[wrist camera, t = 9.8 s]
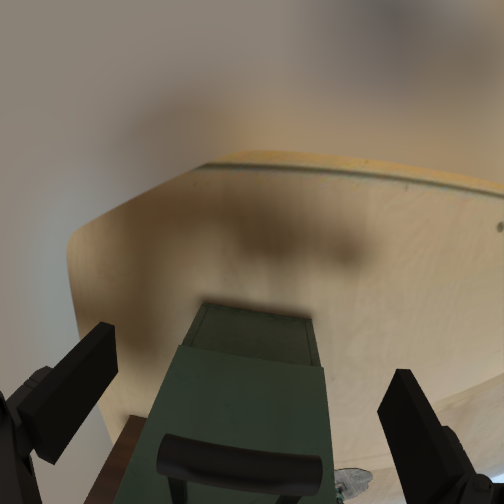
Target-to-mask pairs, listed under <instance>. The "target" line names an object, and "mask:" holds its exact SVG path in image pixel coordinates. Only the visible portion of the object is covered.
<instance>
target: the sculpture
mask: <svg viewBox="0 0 504 504" xmlns="http://www.w3.org/2000/svg"><path fill="white" fill-rule="evenodd" d="M334 475H335V489H336V504H344V503H343V501H345V500H347V499H351V498H354V497H356V496H358V495H359V494H361V493H362V492H364V491H365V490H367V489H368V483H369V482H370V481H371V480H372V479H373V478H372V474H370V472H366V471H363V470H359V469H342V470H337V471H334Z"/></svg>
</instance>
